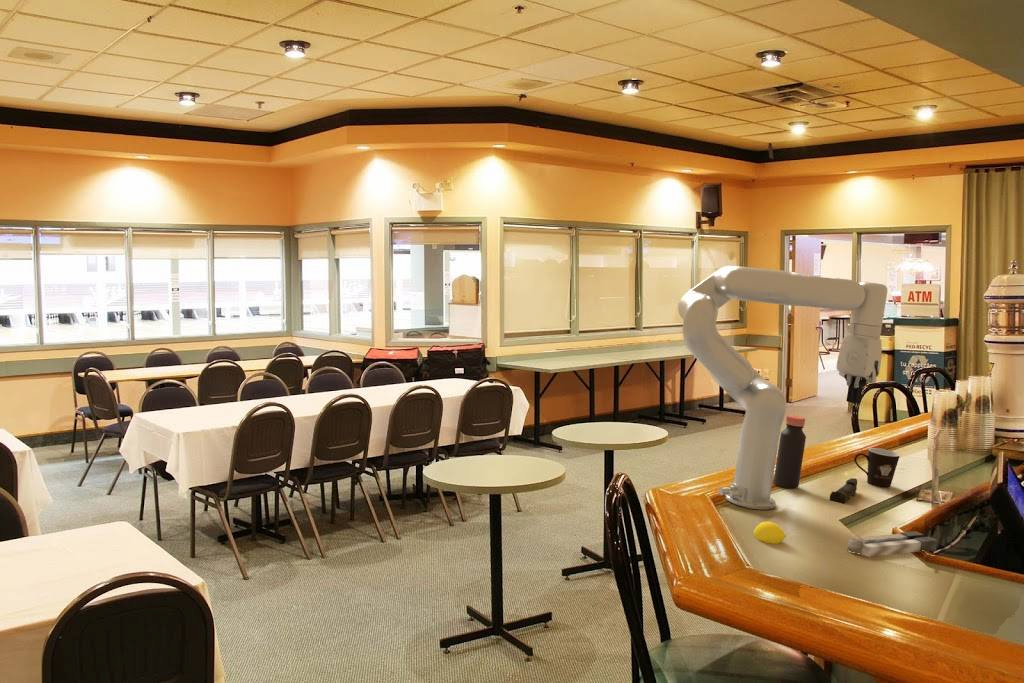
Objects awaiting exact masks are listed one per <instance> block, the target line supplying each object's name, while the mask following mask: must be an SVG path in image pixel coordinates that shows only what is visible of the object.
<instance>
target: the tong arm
mask: <svg viewBox="0 0 1024 683" xmlns="http://www.w3.org/2000/svg"><path fill="white" fill-rule="evenodd" d="M920 537H925V536H924V534H923V533H921V532H918V531H917V530H913V531H902V532H900V533H892V534H881V535H880V534H879V535H870V536H860V537H859V536H858V540H861V541H862V542H863V544H871V543H881V542H892V541H902V540H912V539H914V538H920Z"/></svg>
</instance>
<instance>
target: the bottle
mask: <svg viewBox="0 0 1024 683" xmlns="http://www.w3.org/2000/svg"><path fill="white" fill-rule="evenodd" d="M805 422H806V418H805V417H803V416H800V415H795V414H788V415H786V420H785V425H786V428H785V429H783V430H782V431H780V435H779V441H778V448H777V455H776V461H775V468H774V475H773V484H774V485H775V486H777V487H781V488H784V489H789V490H790V489H791V490H794V489H798V488H799V487H800V486H799V485H800V479H801V473H802V465H803V459H804V453H805V446H806V439H807V436H806V434H805V433H804V432H803V428H804V427H805Z"/></svg>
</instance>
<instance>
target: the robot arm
mask: <svg viewBox="0 0 1024 683" xmlns="http://www.w3.org/2000/svg"><path fill="white" fill-rule="evenodd" d="M887 296H888V288H887V285H885V284H883V283H876V282H867V281H865V282H864V281H861V282H858V281H856V280H854V279H847V278H840V277H839V278H836V277H835V278H833V277H824V276H815V275H808V274H803V273H799V272H795V271H789V270H779V269H771V268H770V269H768V268H767V269H766V268H760V267H748V266H740V265H739V266H738V265H729V264H728V265H725V266H723V267H720V268H719V269H718V270H716V271H715V272H714V273H712V274H710V275H709V276H708V277H707V278H705V279H704V280H702V281H701V282H700V283H698V284H697V285H695V286H694V287H693V288H691V289H689V290H688V292H686V293H684V295H683V296H681V297H680V300H679V302H678V305H677V310H678V311H677V312H678V314H679V316H680V318H681V319H682V320H683V322H682V335H683V336H682V337H683V340H684V343H685V346H686V347H687V349H688V350H689V352H690V353H691V355H693V357H694V358H695V359H696V360H697V361H698V362H699V363H700V364H701V365H702V366H703V367H704V368H705V369H706V370H707V371H708V372H709V374H710V377H711V378H712V379H713V381H714V382H715V383H716V384H717V385H718V386H719V387H720V388H721V389H722V390H723V391H725V392H726V394H727V395H728V396H730V397H731V398H732V399H733V400H734V401H735V402H736V403H737V404H738V405H740V406H741V407H742V408H743V409H744V410H745V414H744V418H743V422H742V425H741V430H740V434H739V435H740V436H739V443H738V444H739V445H738V450H737V457H736V465H735V471H734V478H733V482H730V483H729V484H730V485H729V486H727V487H726V486H725V487H718V489H717V492H718V495H720V496H726V497H725V499H726V500H727V501H728V502H730V503H732V504H734V505H737V506H740V507H743V508H747V509H752V510H753V509H754V510H773V509H774V508H776V504H777V503H776V500H774V498H772V497H771V493H772V487H773V482H774V476H775V469H776V462H777V455H778V449H779V442H780V435H781V430H782V426H783V422H784V419H785V417H786V416H785V415H786V412H787V400H786V396H785V394H784V392H783V391H782V390H781V388H779V387H778V386H777V385H775V384H774V383H772V382H770V381H768V380H767V379H765V378H764V377H763V376H762V375H760V373H759V372H758V371H756V369H754V367H753V365H752V363H751V362H750V361H749V360H748V358H746V357H745V356H744V355H742V354H741V353H740V352H738V350H736V349H735V348H734V347H733V346H732V345H731V344H730V343H729V342H728V341H727V340H726V339H725V338H724V336H722V335H721V334H720V332H719V331H718V329H717V319H718V314H719V309H720V308H721V307H723V306H724V305H725V304H727V303H728V302H729V301H731V300H736V301H743V302H754V303H755V302H756V303H764V304H766V303H767V304H773V305H783V306H790V307H792V306H793V307H809V308H810V307H811V308H819V309H828V310H829V309H830V310H837V311H838V310H839V311H847V312H848V311H849V312H851V313H850V318H849V319H850V320H849V323H847V325H846V329H847V330H848V332H847V333H845V334H844V337H843V339H842V342H841V344H840V348H839V352H838V357H837V360H836V370H837V372H839V373H838V374H839V376H840V377H842V378H844V379H845V381H846V386H848V388H847V395H846V400H845V401H846V402H848V403H851V404H860V403H861V400H862V394H863V389H864V388H866V386H867V385H868V384H876V382H877V377H879V374H880V370H881V366H882V365H881V363H882V355H883V354H882V352H883V351H882V350H883V348H882V347H883V346H882V339H881V334H882V327H883V321H884V316H885V315H884V314H885V309H886V302H887Z"/></svg>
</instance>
